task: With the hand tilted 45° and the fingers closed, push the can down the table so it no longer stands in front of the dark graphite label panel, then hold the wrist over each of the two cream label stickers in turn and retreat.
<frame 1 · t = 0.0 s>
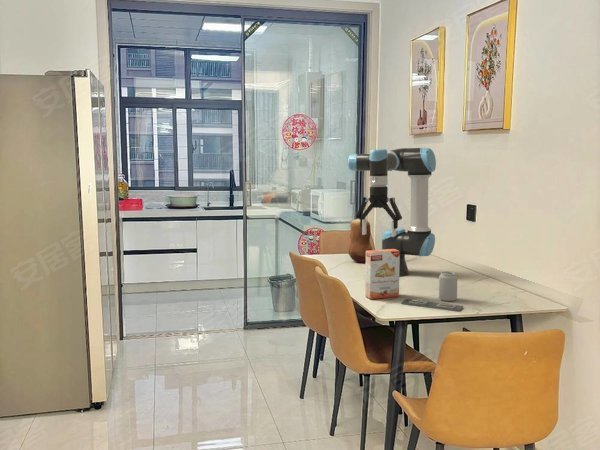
hand: (378, 235, 239), 28 cm above the table, tool pointing down, fingers open, 13 cm apart
cracker box: (382, 297, 246), on the table
can: (447, 300, 239), on the table
butternut squash: (360, 262, 321), on the table
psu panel: (431, 305, 230), on the table
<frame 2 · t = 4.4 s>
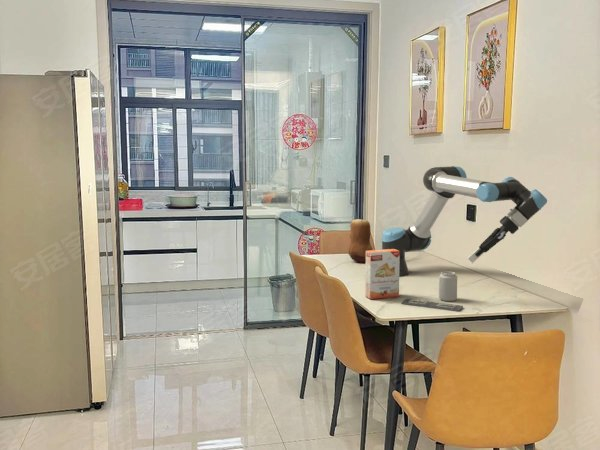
hand: (470, 260, 235), 17 cm above the table, tool tilted 45°, fingers closed
nothing on the table moved.
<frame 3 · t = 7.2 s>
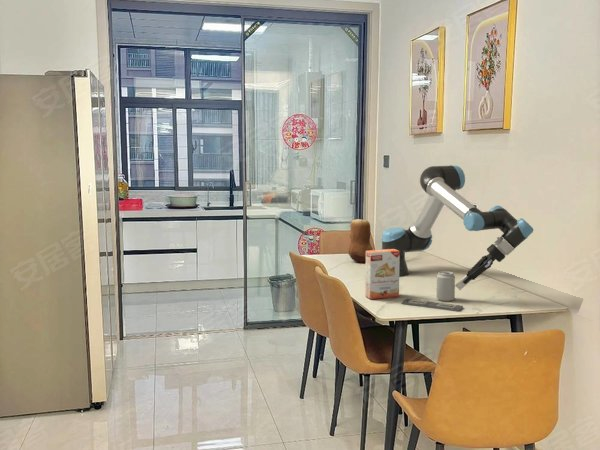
hand: (457, 287, 237), 5 cm above the table, tool tilted 45°, fingers closed
can: (445, 300, 239), on the table, touching gripper
everything else where it was.
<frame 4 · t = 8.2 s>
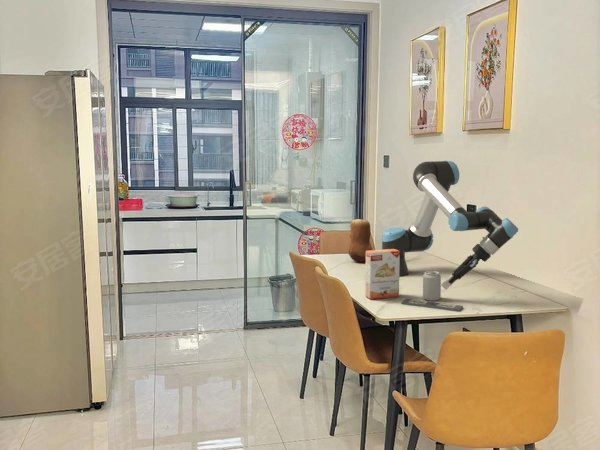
hand: (443, 287, 238), 6 cm above the table, tool tilted 45°, fingers closed
can: (431, 299, 240), on the table, touching gripper
everything else where it was.
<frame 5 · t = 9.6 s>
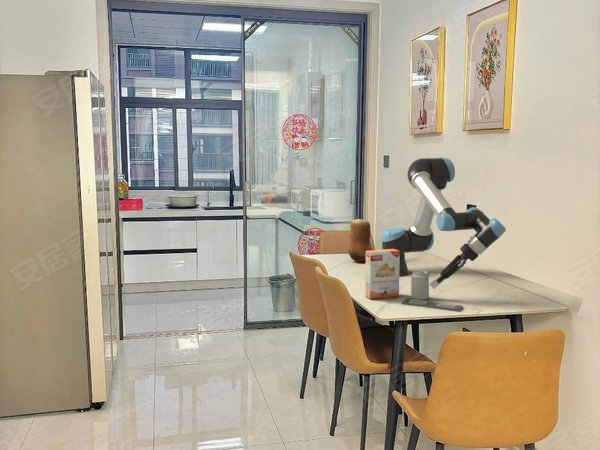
hand: (431, 286, 239), 6 cm above the table, tool tilted 45°, fingers closed
can: (420, 299, 241), on the table, touching gripper
everything else where it was.
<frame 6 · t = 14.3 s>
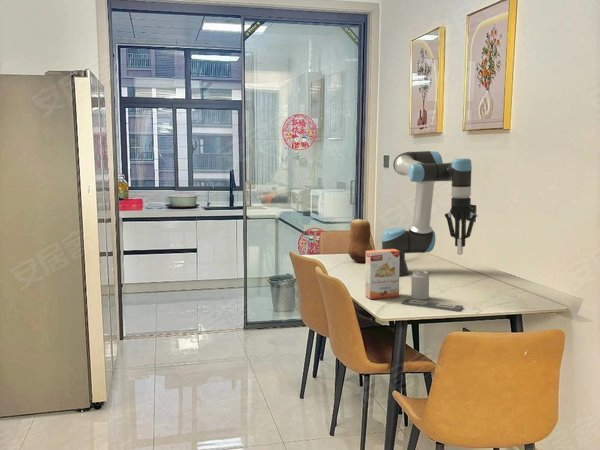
hand: (459, 254, 229), 21 cm above the table, tool pointing down, fingers closed
can: (420, 299, 241), on the table
everything else where it was.
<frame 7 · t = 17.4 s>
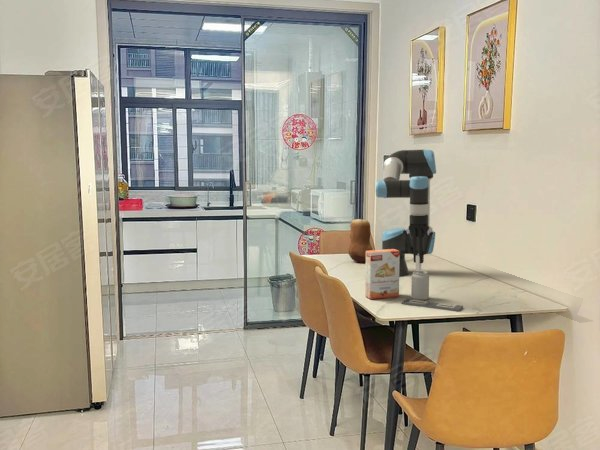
hand: (418, 270, 231), 14 cm above the table, tool pointing down, fingers closed
nothing on the table moved.
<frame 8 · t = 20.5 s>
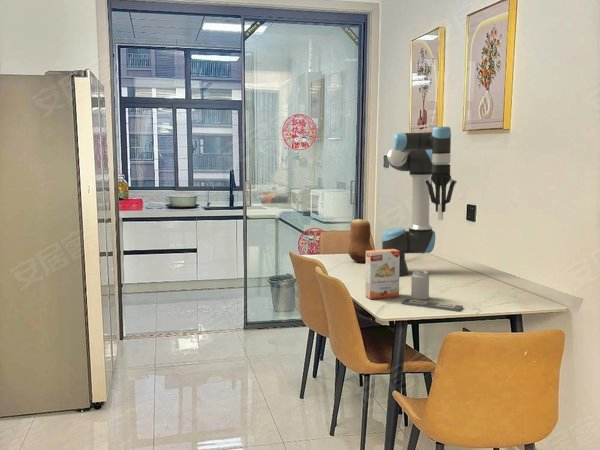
hand: (440, 219, 237), 34 cm above the table, tool pointing down, fingers closed
nothing on the table moved.
at the end: can moved 11.6 cm from its start; can inside the target area (2.7 cm from its centre), on the table; can tilted 0° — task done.
